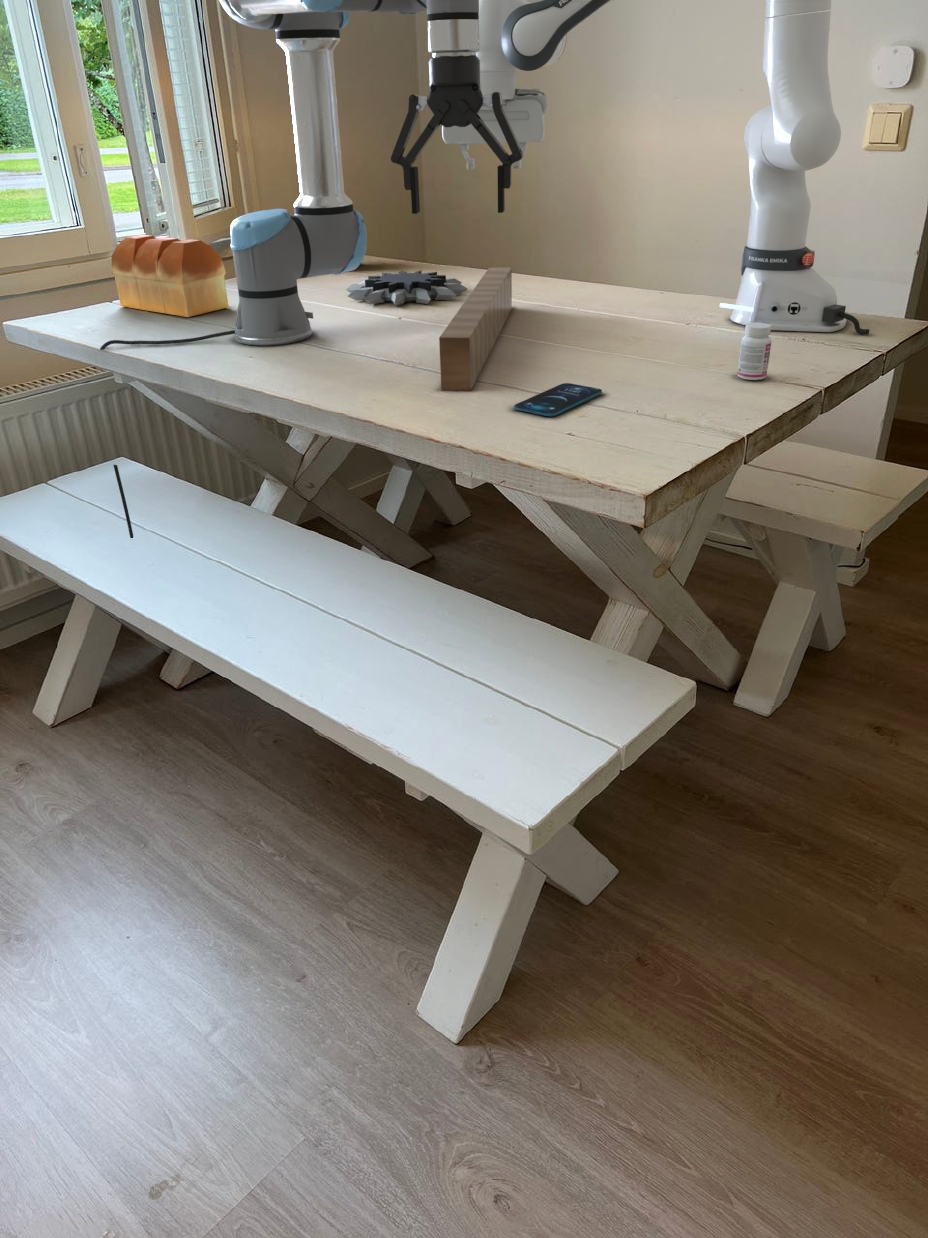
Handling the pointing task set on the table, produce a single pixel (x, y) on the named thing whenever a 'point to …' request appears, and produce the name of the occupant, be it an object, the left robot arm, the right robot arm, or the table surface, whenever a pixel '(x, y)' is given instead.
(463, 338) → the beam
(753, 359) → the pill bottle
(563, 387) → the smartphone
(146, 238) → the bread
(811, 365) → the table surface
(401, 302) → the decorative piece
